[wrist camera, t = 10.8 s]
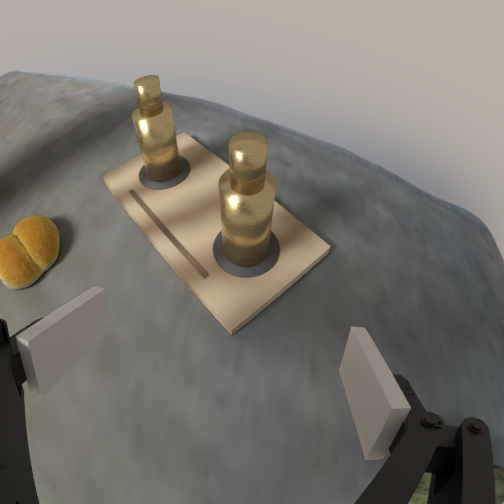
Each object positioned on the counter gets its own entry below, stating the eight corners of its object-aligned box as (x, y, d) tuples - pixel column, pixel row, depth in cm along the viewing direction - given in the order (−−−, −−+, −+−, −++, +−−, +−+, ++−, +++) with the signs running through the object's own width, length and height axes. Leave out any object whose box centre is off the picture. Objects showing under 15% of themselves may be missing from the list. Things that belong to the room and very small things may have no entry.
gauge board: (105, 183, 34) (102, 175, 33) (184, 139, 39) (183, 131, 38) (231, 335, 25) (231, 330, 24) (327, 253, 29) (330, 246, 28)
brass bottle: (214, 246, 28) (202, 141, 18) (247, 223, 29) (250, 119, 20) (243, 275, 26) (245, 173, 17) (277, 249, 28) (294, 145, 18)
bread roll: (74, 248, 29) (59, 225, 26) (19, 305, 25) (-2, 287, 22) (45, 214, 32) (31, 192, 28) (-4, 262, 28) (-21, 243, 24)
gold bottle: (141, 170, 33) (118, 83, 24) (169, 154, 35) (155, 68, 25) (157, 188, 32) (135, 94, 22) (188, 170, 33) (175, 78, 24)
